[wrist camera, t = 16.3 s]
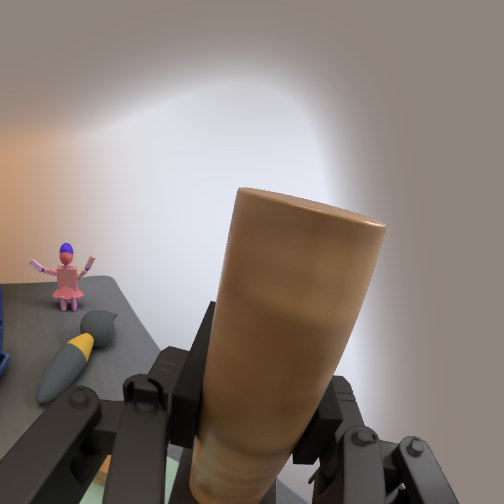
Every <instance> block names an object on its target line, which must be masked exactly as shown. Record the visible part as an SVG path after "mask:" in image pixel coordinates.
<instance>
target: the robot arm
mask: <svg viewBox="0 0 504 504" xmlns="http://www.w3.org/2000/svg"><path fill="white" fill-rule="evenodd" d="M215 306H216V302H213V301H211V302H210V304H209V306H208V309H207V311H206V313H205V316H204V318H203V321H202V323H201V325H200V328H199V330H198V332H197V335H196V337H195V340H194V342H193V344H192V347H191V349H190V351H186V350H183V349H179V348H175V347H171V346H169V347H167V348H165V349H164V350H162V351H161V352H160V353H159V355H158V357H157V359H156V361H155V362H154V364H153V366H152V368H151V369H150V371H149V373H148V375H147V374H138V375H133V376H131V377H129V378H128V379H126V380H125V382H124V383H123V394H124V401H110V400H102V399H99V397H98V396H97V394H96V392H94V391H93V390H92V389H90V388H88V387H85V386H76V385H75V386H71V387H68V388H67V389H65V390H64V391H62V392H61V394H60V395H59V396H58V397H57V398H56V399H55V400H54V401H53V402H52V403H51V404H50V405H49V406H48V408H47V409H46V410H45V411H44V412H43V413H42V414H41V415H40V416H39V417H38V419H37V420H36V421H35V422H34V423H33V424H32V425H31V426H30V427H29V429H28V430H27V431H26V432H25V433H24V434H23V435H22V436H21V438H20V439H19V440H18V441H17V442H16V443H15V444H14V446H13V447H12V448H11V449H10V450H9V451H8V453H7V454H6V455H5V456H4V457H3V459H2V460H1V461H0V504H79V503H80V502H81V500H82V498H83V496H84V495H85V493H86V491H87V490H88V488H89V486H90V485H91V483H92V481H93V479H94V478H95V476H96V474H97V473H98V471H99V469H100V468H101V466H102V464H103V463H104V461H105V459H106V458H107V456H108V455H111V459H110V464H109V468H108V473H107V478H106V483H105V488H104V493H103V499H102V504H165V482H166V465H167V447H168V444H169V441H170V444H173V445H177V446H181V447H184V448H188V449H192V446H193V442H194V438H195V434H196V428H197V421H198V414H199V407H200V400H201V393H202V387H203V379H204V373H205V366H206V360H207V354H208V348H209V341H210V335H211V329H212V323H213V318H214V312H215ZM355 400H356V399H355V396H354V395H353V391H352V388H351V385H350V384H349V383H348V381H347V380H346V379H345V378H344V377H343V376H334V375H333V376H332V379H331V381H330V383H329V385H328V387H327V389H326V391H325V393H324V395H323V397H322V399H321V401H320V403H319V405H318V407H317V409H316V411H315V413H314V415H313V417H312V419H311V420H310V422H309V424H308V426H307V428H306V430H305V431H304V433H303V435H302V437H301V438H300V440H299V442H298V444H297V445H296V447H295V449H294V450H293V452H292V455H293V464H305V465H313V464H314V463H315V461H316V460H317V459H318V457H319V461H320V467H319V468H318V470H317V471H316V472H315V473H314V474H313V475H312V477H311V478H310V479H309V482H308V483H309V484H311V483H312V481H314V479H315V481H314V490H313V498H312V504H459V502H458V500H457V498H456V496H455V494H454V492H453V491H452V488H451V487H450V484H449V483H448V481H447V479H446V477H445V475H444V473H443V471H442V469H441V467H440V465H439V464H438V462H437V460H436V458H435V456H434V454H433V453H432V451H431V449H430V447H429V446H428V444H427V443H426V442H425V441H424V440H422V439H421V438H419V437H415V436H408V437H405V438H404V439H403V440H402V441H401V442H400V443H399V444H397V443H392V442H387V441H382V440H379V438H378V435H377V434H376V433H375V432H374V430H372V429H370V428H369V427H366V426H365V425H364V422H363V419H362V416H361V413H360V410H359V408H358V405H357V402H356V401H355ZM402 483H404V485H405V489H404V488H403V487H402V485H401V484H402Z"/></svg>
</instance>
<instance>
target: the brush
mask: <svg viewBox="0 0 504 504" xmlns="http://www.w3.org/2000/svg"><path fill="white" fill-rule="evenodd" d="M385 230H386V225H385V224H384V223H382V222H380V221H377V220H375V219H372V218H370V217H367V216H364V215H361V214H358V213H354V212H351V211H348V210H344V209H341V208H337V207H334V206H330V205H327V204H323V203H319V202H315V201H311V200H307V199H303V198H298V197H294V196H290V195H285V194H280V193H276V192H270V191H265V190H259V189H253V188H239V189H238V191H237V195H236V200H235V205H234V210H233V215H232V220H231V225H230V230H229V235H228V241H227V246H226V251H225V257H224V262H223V267H222V272H221V278H220V284H219V289H218V295H217V300H216V306H215V312H214V318H213V323H212V329H211V335H210V341H209V348H208V354H207V360H206V366H205V373H204V379H203V387H202V393H201V400H200V407H199V414H198V421H197V428H196V434H195V441H194V442H193V446H192V449H188V448H183V451H182V455H181V458H180V462H179V465H178V469H177V472H176V476H175V479H174V483H173V487H172V490H171V494H170V497H169V501H168V504H277V476H278V474H279V473H280V471H281V470H282V468H283V467H284V465H285V463H286V462H287V460H288V459H289V457H290V455H291V454H292V452H293V450H294V449H295V447H296V445H297V444H298V442H299V440H300V438H301V437H302V435H303V433H304V431H305V430H306V428H307V426H308V424H309V422H310V420H311V419H312V417H313V415H314V413H315V411H316V409H317V407H318V405H319V403H320V401H321V399H322V397H323V395H324V393H325V391H326V389H327V387H328V385H329V383H330V381H331V379H332V376H333V374H334V372H335V370H336V368H337V365H338V363H339V361H340V359H341V356H342V354H343V352H344V349H345V347H346V344H347V342H348V340H349V337H350V335H351V332H352V330H353V327H354V325H355V322H356V320H357V317H358V314H359V312H360V309H361V306H362V304H363V301H364V298H365V295H366V292H367V289H368V287H369V283H370V281H371V277H372V274H373V271H374V268H375V265H376V262H377V258H378V255H379V252H380V248H381V245H382V241H383V238H384V234H385Z"/></svg>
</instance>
